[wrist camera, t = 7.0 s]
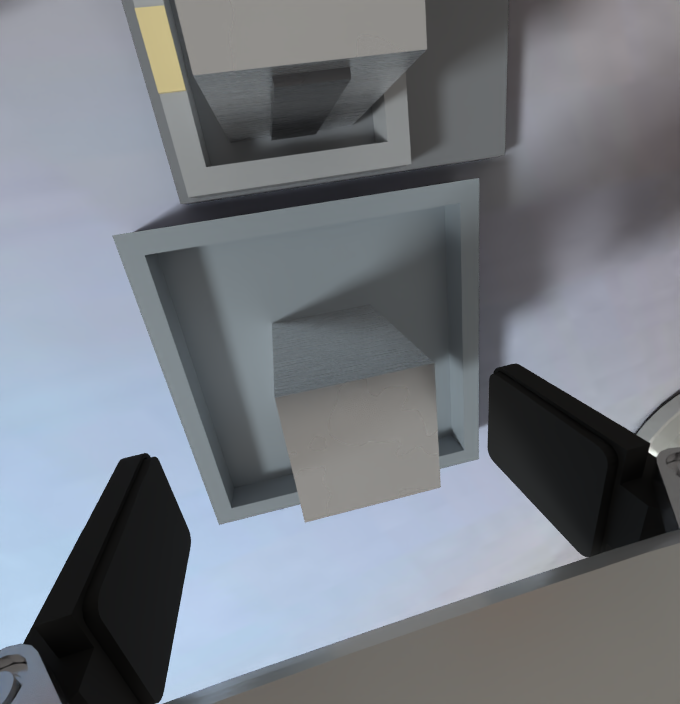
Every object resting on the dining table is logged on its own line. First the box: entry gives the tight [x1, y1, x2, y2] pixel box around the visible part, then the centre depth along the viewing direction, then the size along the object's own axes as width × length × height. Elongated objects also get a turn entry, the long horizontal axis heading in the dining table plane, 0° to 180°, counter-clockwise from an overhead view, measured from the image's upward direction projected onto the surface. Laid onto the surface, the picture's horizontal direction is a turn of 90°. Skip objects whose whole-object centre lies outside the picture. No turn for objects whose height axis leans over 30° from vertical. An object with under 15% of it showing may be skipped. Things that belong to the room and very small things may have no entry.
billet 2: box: [272, 304, 441, 522], centre depth 14 cm, size 4×5×7 cm
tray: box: [113, 178, 479, 525], centre depth 17 cm, size 14×14×2 cm
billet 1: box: [175, 0, 427, 142], centre depth 9 cm, size 4×5×7 cm
